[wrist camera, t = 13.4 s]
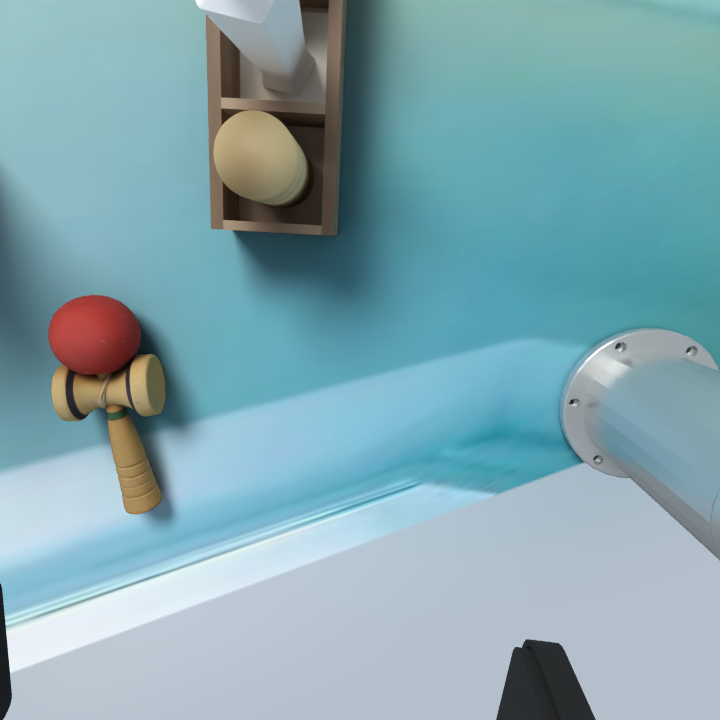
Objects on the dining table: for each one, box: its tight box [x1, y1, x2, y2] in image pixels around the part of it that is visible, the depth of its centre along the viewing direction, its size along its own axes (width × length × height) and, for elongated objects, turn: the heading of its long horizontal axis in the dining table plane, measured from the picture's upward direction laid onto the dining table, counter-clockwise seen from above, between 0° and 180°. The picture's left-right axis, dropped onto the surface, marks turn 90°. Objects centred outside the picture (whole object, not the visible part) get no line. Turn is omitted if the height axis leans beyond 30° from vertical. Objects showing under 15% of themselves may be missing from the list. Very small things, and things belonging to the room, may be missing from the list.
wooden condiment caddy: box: [206, 0, 348, 236], centre depth 28 cm, size 8×22×10 cm, turn 177°
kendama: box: [49, 295, 166, 514], centre depth 37 cm, size 8×6×18 cm
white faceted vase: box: [196, 0, 315, 95], centre depth 25 cm, size 5×4×15 cm
